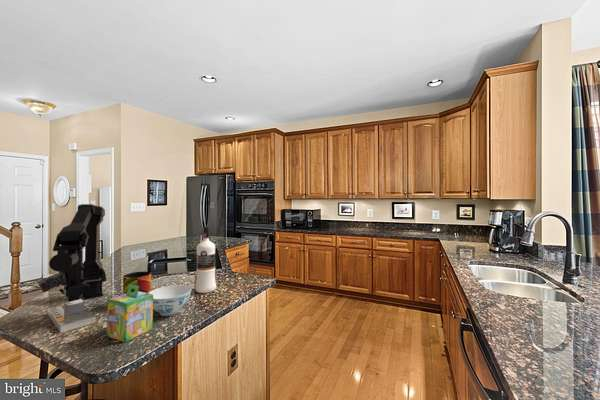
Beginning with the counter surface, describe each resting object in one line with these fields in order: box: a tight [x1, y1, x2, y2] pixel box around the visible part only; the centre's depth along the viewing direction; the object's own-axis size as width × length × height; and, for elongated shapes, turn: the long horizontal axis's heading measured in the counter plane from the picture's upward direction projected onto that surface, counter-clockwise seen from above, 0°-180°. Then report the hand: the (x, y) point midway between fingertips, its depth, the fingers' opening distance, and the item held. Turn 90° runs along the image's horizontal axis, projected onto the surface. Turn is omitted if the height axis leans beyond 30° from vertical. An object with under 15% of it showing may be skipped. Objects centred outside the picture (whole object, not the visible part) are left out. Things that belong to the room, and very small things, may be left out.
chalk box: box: [106, 285, 154, 343], centre depth 81 cm, size 9×9×15 cm
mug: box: [122, 271, 152, 295], centre depth 106 cm, size 10×14×12 cm
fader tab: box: [63, 298, 85, 319], centre depth 88 cm, size 5×3×5 cm, turn 142°
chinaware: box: [149, 284, 192, 317], centre depth 96 cm, size 15×15×8 cm
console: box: [47, 304, 97, 333], centre depth 91 cm, size 9×22×4 cm, turn 52°
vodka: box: [194, 226, 217, 294], centre depth 120 cm, size 9×9×30 cm
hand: (71, 309), depth 90 cm, fingers closed
